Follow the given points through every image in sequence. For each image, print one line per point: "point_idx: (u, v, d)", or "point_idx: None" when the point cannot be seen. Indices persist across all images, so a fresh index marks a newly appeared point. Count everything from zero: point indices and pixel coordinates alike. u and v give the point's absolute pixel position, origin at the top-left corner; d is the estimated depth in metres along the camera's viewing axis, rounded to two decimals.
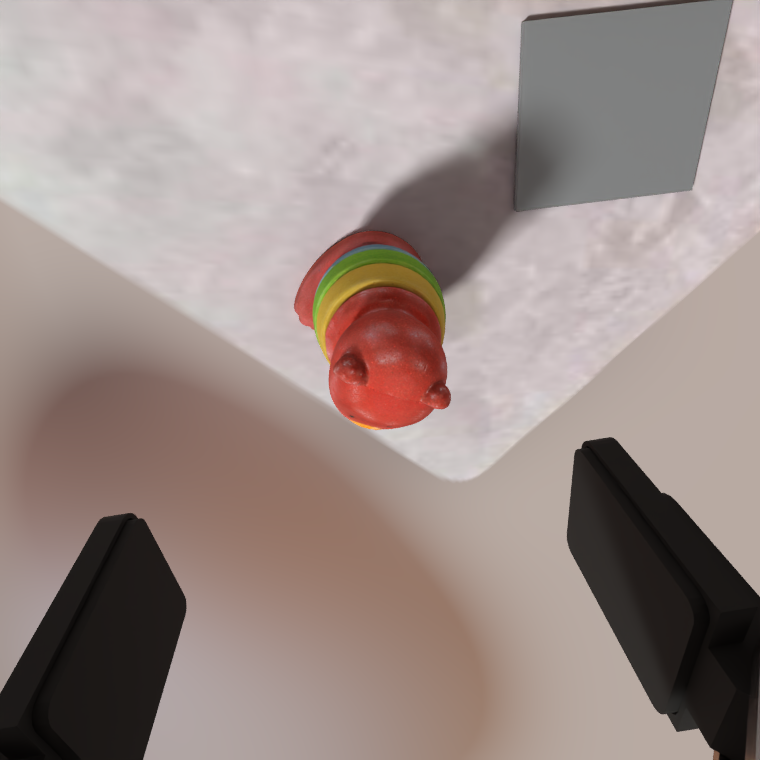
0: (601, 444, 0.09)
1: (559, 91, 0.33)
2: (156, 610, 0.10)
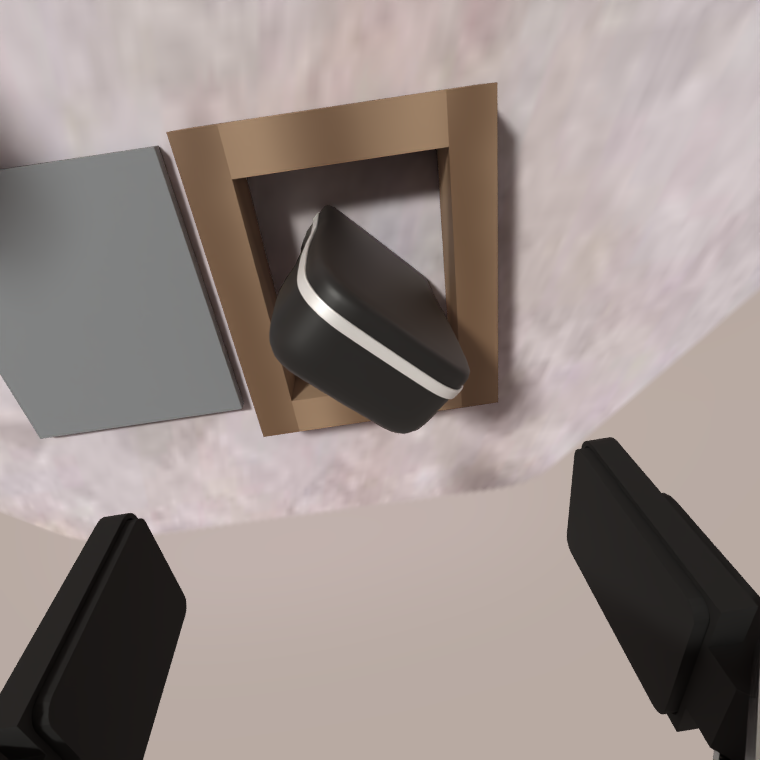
0: (601, 444, 0.09)
1: (86, 224, 0.22)
2: (156, 610, 0.10)
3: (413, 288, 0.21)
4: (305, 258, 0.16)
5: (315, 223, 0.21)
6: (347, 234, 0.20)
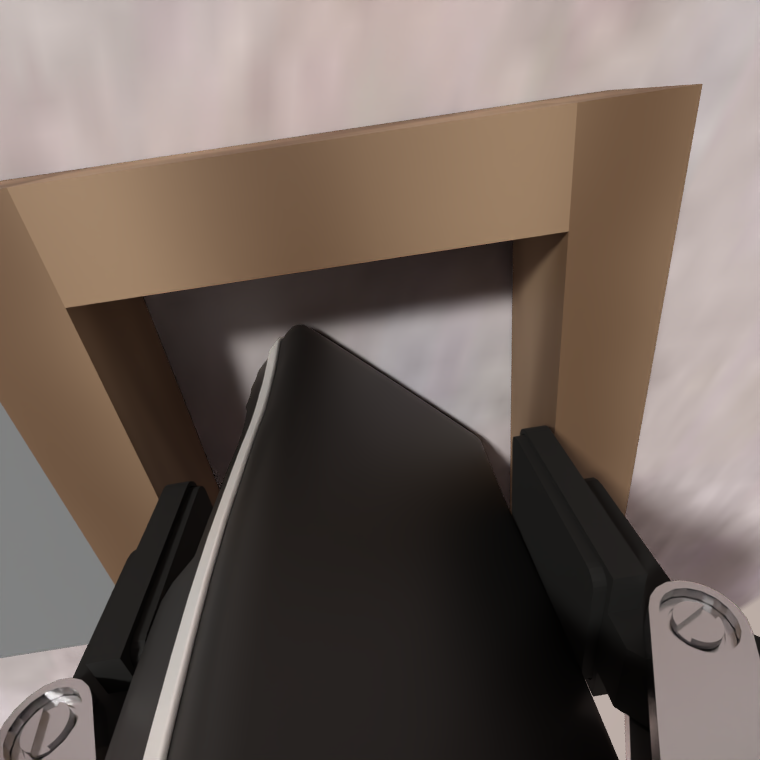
0: (535, 431, 0.10)
1: None
2: None
3: (478, 535, 0.09)
4: (183, 662, 0.05)
5: (267, 379, 0.10)
6: (332, 429, 0.09)
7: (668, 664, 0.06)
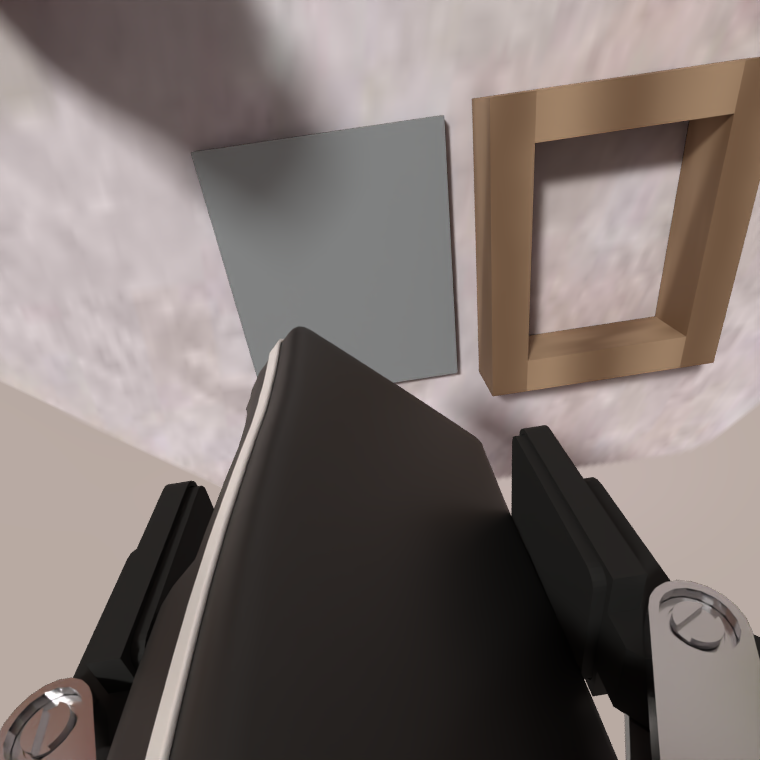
0: (534, 431, 0.10)
1: (363, 189, 0.24)
2: None
3: (478, 538, 0.09)
4: (184, 667, 0.05)
5: (268, 382, 0.10)
6: (333, 432, 0.09)
7: (668, 664, 0.06)
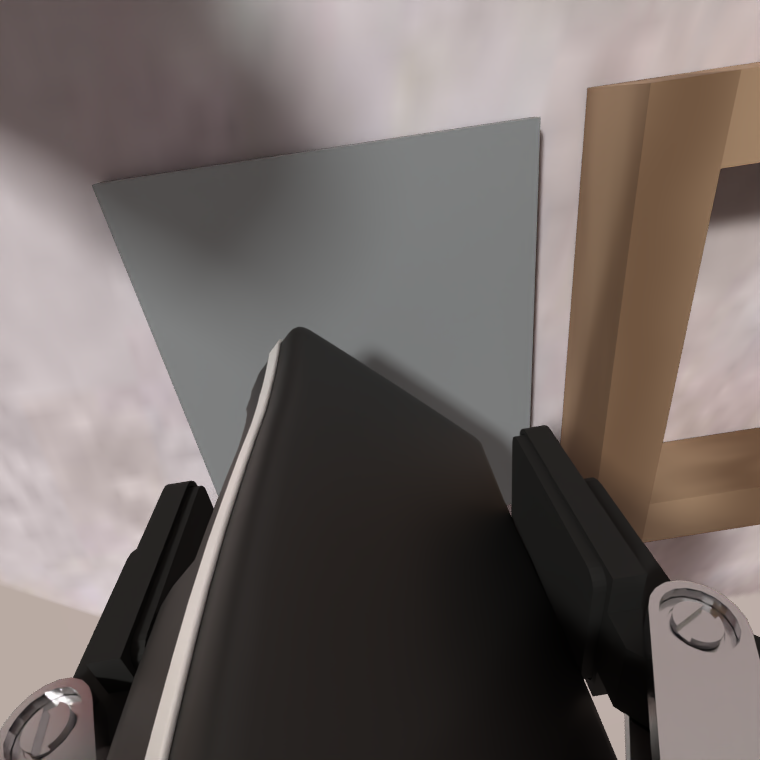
0: (534, 431, 0.10)
1: (395, 243, 0.14)
2: None
3: (478, 538, 0.09)
4: (184, 667, 0.05)
5: (267, 382, 0.10)
6: (333, 432, 0.09)
7: (668, 664, 0.06)
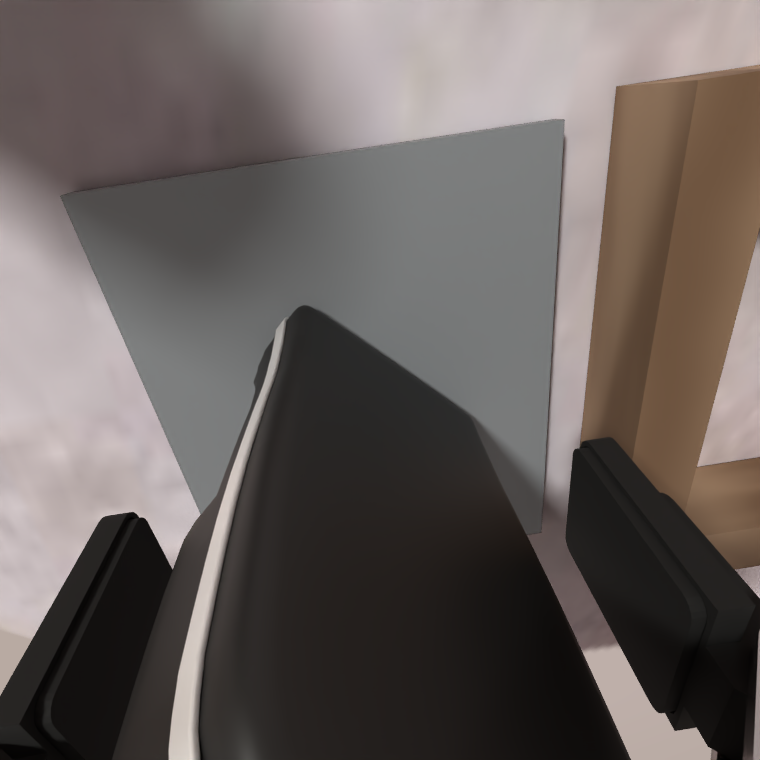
0: (600, 444, 0.09)
1: (401, 259, 0.13)
2: (157, 609, 0.10)
3: (469, 492, 0.10)
4: (219, 559, 0.06)
5: (276, 352, 0.11)
6: (338, 392, 0.10)
7: None
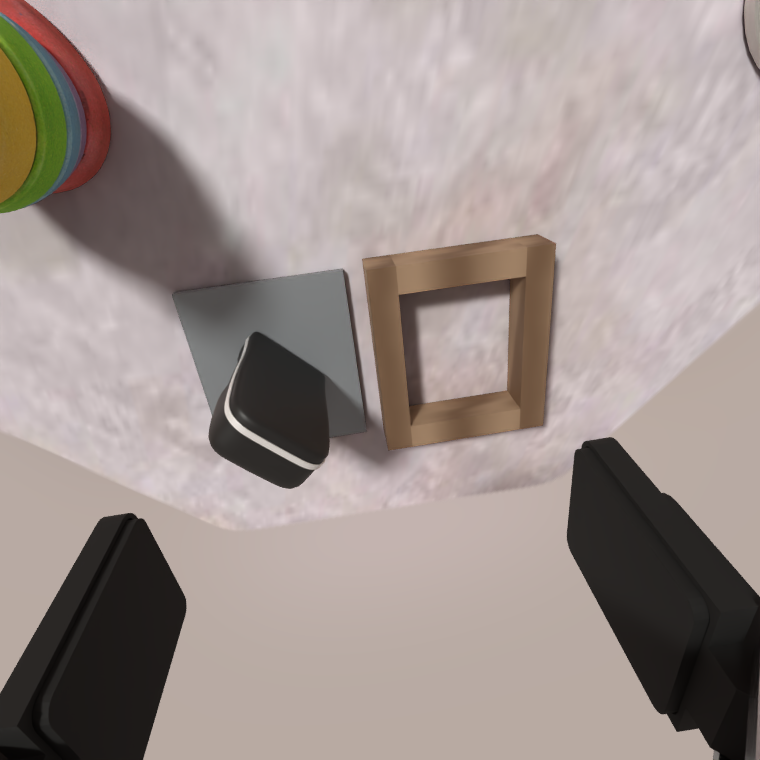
0: (601, 444, 0.09)
1: (291, 315, 0.35)
2: (156, 610, 0.10)
3: (306, 392, 0.33)
4: (231, 388, 0.28)
5: (245, 348, 0.33)
6: (263, 359, 0.32)
7: None
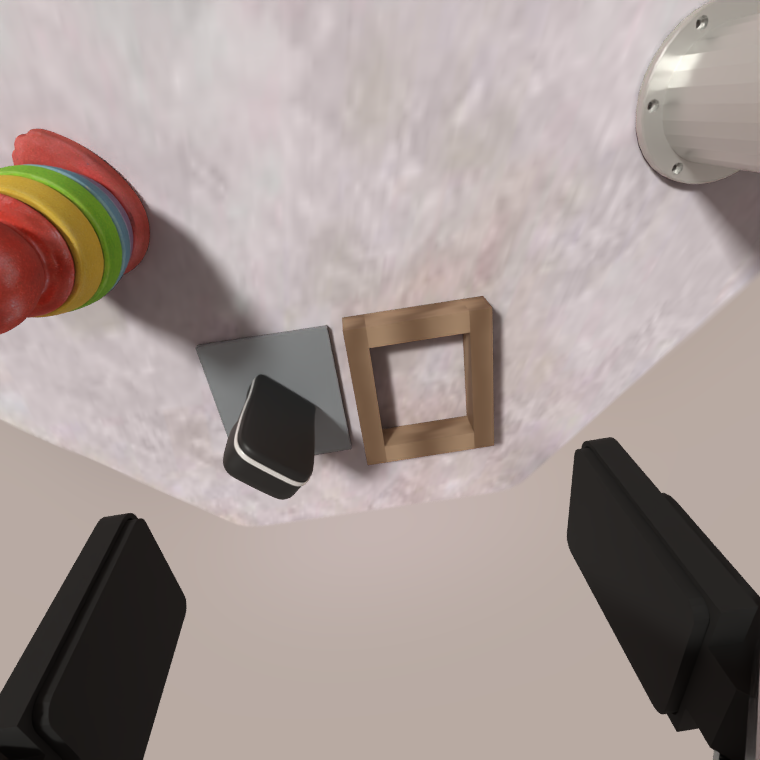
0: (601, 444, 0.09)
1: (287, 361, 0.45)
2: (156, 610, 0.10)
3: (298, 423, 0.42)
4: (239, 426, 0.38)
5: (251, 388, 0.43)
6: (265, 399, 0.42)
7: None
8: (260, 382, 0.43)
